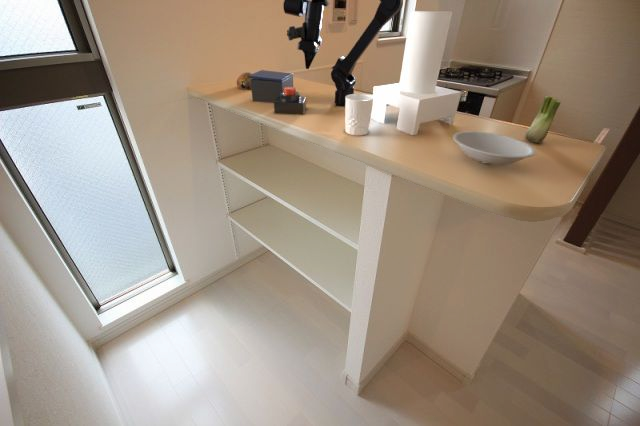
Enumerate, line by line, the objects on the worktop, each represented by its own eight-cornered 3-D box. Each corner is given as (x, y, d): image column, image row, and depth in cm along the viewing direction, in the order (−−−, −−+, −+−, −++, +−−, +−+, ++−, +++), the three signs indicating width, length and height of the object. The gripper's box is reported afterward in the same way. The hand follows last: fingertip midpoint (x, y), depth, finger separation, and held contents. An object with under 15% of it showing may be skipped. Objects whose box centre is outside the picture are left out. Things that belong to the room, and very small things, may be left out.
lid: (248, 78, 112) (247, 75, 111) (261, 72, 122) (261, 70, 121) (281, 81, 109) (281, 79, 109) (292, 75, 119) (292, 73, 119)
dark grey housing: (252, 101, 116) (250, 79, 112) (265, 93, 126) (263, 73, 122) (283, 103, 114) (281, 82, 109) (293, 96, 124) (292, 75, 119)
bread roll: (262, 95, 138) (265, 77, 136) (246, 89, 129) (250, 69, 127) (246, 92, 142) (249, 75, 140) (230, 86, 133) (233, 67, 131)
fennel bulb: (543, 146, 82) (564, 101, 75) (523, 142, 84) (541, 98, 77) (542, 139, 86) (562, 96, 79) (523, 136, 88) (540, 93, 81)
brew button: (296, 93, 105) (296, 86, 103) (294, 95, 101) (294, 89, 100) (285, 92, 105) (285, 86, 104) (283, 95, 102) (282, 89, 100)
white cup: (369, 128, 92) (373, 94, 87) (370, 137, 86) (374, 101, 80) (343, 126, 93) (345, 93, 87) (342, 135, 86) (345, 100, 81)
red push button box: (306, 108, 109) (305, 91, 106) (303, 114, 103) (302, 96, 99) (279, 107, 110) (277, 90, 106) (274, 113, 103) (273, 95, 100)
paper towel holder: (412, 135, 87) (436, 12, 70) (370, 118, 100) (381, 10, 83) (452, 124, 96) (483, 12, 79) (409, 110, 109) (426, 11, 92)
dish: (531, 162, 73) (540, 143, 70) (520, 184, 64) (529, 163, 61) (458, 144, 82) (463, 126, 79) (439, 161, 73) (444, 142, 70)
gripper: (295, 13, 110) (290, 59, 119) (284, 17, 95) (280, 69, 104) (324, 19, 110) (318, 65, 119) (318, 24, 95) (311, 76, 104)
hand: (307, 68), depth 112 cm, fingers closed
